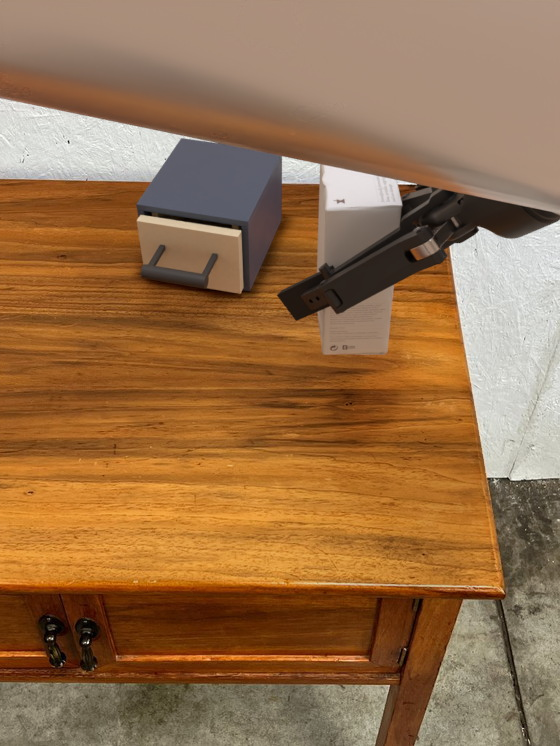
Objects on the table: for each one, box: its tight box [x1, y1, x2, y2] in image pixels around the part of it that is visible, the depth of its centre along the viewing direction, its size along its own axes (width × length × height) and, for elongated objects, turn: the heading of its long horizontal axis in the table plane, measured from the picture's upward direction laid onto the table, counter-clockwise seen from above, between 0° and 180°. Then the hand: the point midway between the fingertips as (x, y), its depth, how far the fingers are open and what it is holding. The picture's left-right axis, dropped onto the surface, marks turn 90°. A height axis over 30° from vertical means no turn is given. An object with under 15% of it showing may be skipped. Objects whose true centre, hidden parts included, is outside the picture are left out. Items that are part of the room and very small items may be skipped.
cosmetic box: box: [316, 164, 402, 356], centre depth 64 cm, size 8×6×15 cm
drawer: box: [136, 212, 244, 295], centre depth 88 cm, size 19×11×8 cm, turn 166°
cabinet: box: [136, 137, 283, 292], centre depth 91 cm, size 15×13×10 cm
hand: (321, 273), depth 67 cm, fingers closed on cosmetic box, 10 cm apart
